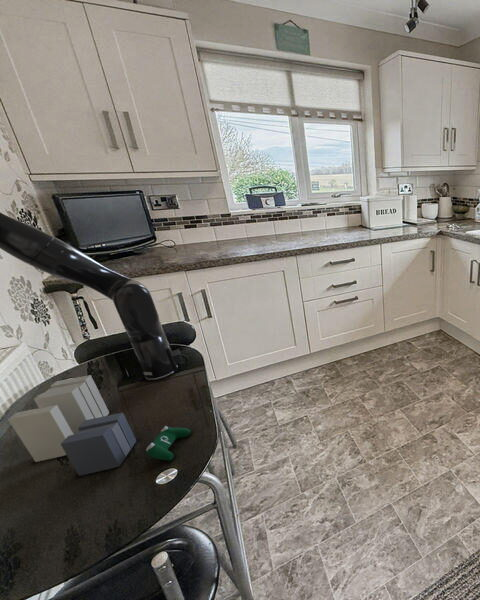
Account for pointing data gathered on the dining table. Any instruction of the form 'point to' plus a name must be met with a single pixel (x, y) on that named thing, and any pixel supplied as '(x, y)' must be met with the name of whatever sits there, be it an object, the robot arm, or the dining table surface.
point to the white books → (74, 400)
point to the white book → (42, 431)
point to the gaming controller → (165, 442)
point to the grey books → (99, 444)
